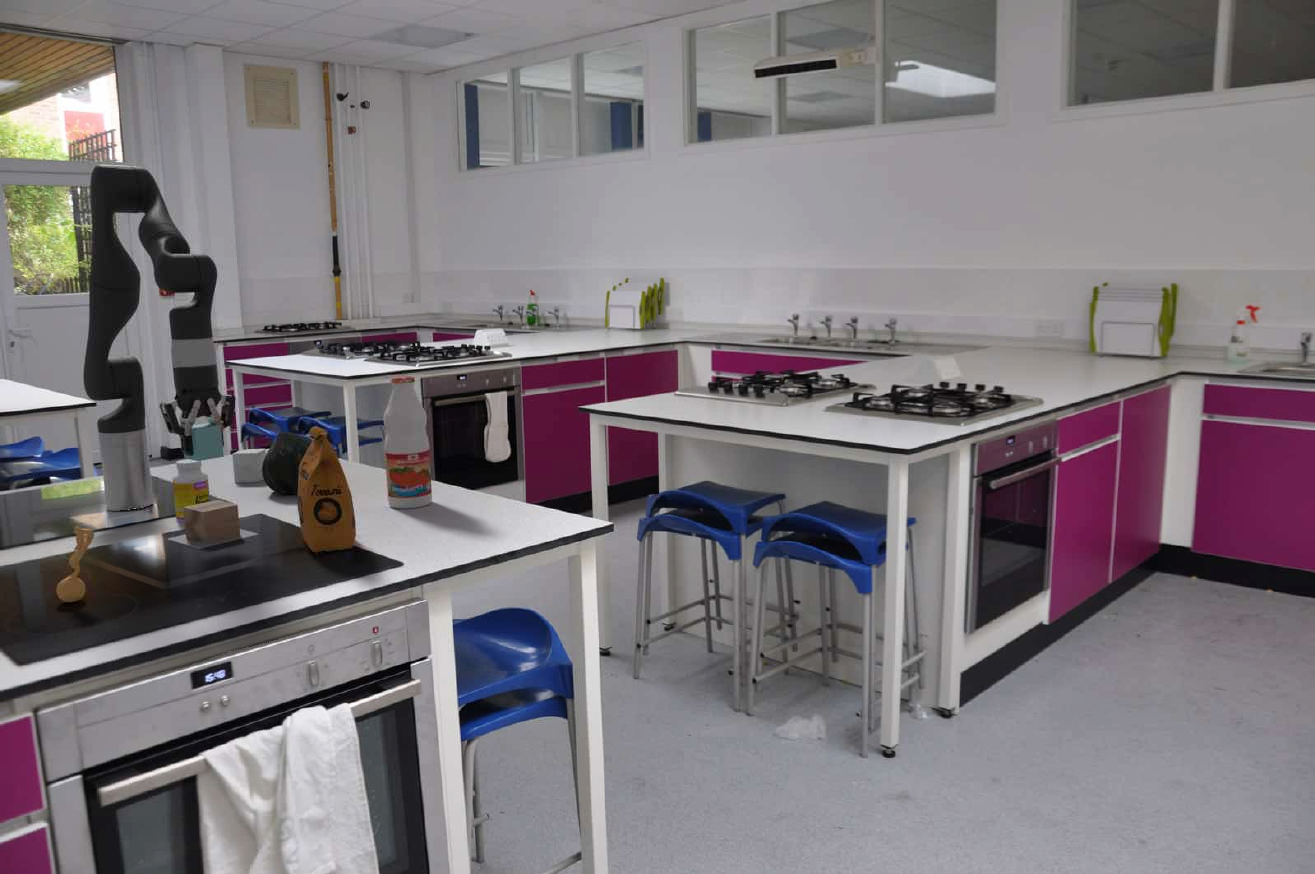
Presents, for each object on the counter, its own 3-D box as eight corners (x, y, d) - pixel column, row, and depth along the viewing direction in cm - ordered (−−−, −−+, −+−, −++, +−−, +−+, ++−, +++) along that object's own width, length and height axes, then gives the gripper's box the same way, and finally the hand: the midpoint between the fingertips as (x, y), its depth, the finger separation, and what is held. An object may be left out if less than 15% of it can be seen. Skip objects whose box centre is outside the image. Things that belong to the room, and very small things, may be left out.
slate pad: (167, 543, 193) (166, 538, 192) (226, 530, 202) (225, 525, 202) (200, 553, 186) (199, 548, 185) (259, 539, 195) (259, 534, 195)
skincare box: (258, 482, 246) (256, 453, 245) (234, 483, 247) (231, 453, 245) (268, 477, 252) (266, 448, 251) (244, 477, 252) (241, 448, 251)
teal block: (184, 458, 190) (181, 426, 189) (209, 454, 194) (206, 423, 193) (198, 461, 187) (195, 429, 186) (223, 456, 191) (220, 425, 190)
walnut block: (186, 537, 193) (183, 507, 192) (220, 529, 198) (217, 500, 197) (205, 543, 189) (202, 512, 188) (240, 535, 194) (237, 504, 193)
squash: (350, 466, 236) (316, 416, 239) (297, 481, 224) (262, 428, 227) (324, 500, 244) (292, 451, 247) (271, 516, 231) (238, 464, 234)
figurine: (57, 596, 163) (49, 524, 161) (100, 590, 166) (92, 519, 164) (58, 611, 156) (48, 536, 153) (102, 604, 159) (93, 530, 156)
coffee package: (302, 557, 183) (292, 437, 179) (300, 539, 194) (291, 426, 190) (359, 550, 186) (350, 432, 182) (354, 534, 197) (346, 423, 194)
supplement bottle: (198, 526, 205) (192, 464, 203) (169, 525, 207) (163, 463, 204) (218, 518, 212) (213, 458, 210) (190, 517, 213) (184, 457, 211)
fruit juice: (428, 497, 227) (420, 373, 223) (436, 506, 219) (428, 377, 214) (385, 502, 224) (377, 376, 219) (391, 511, 215) (383, 380, 210)
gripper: (220, 358, 196) (228, 445, 198) (146, 365, 184) (155, 457, 187) (241, 360, 191) (249, 448, 194) (166, 367, 180) (176, 461, 183)
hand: (203, 452), depth 191 cm, fingers closed on teal block, 5 cm apart
